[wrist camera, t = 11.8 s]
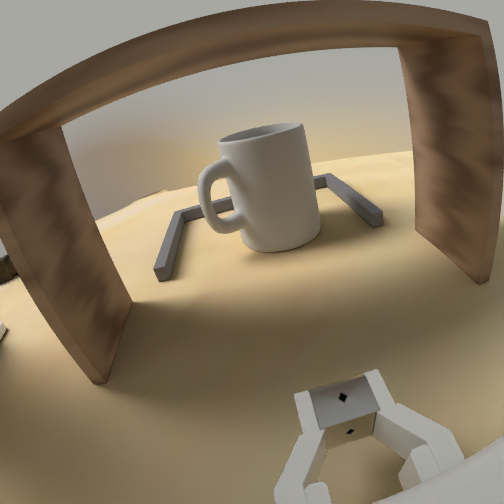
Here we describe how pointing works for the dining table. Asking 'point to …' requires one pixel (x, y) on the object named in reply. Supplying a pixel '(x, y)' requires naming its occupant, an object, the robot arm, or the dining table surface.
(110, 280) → the wooden bridge arch
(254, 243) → the mug
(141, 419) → the dining table surface
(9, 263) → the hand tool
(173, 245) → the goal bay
